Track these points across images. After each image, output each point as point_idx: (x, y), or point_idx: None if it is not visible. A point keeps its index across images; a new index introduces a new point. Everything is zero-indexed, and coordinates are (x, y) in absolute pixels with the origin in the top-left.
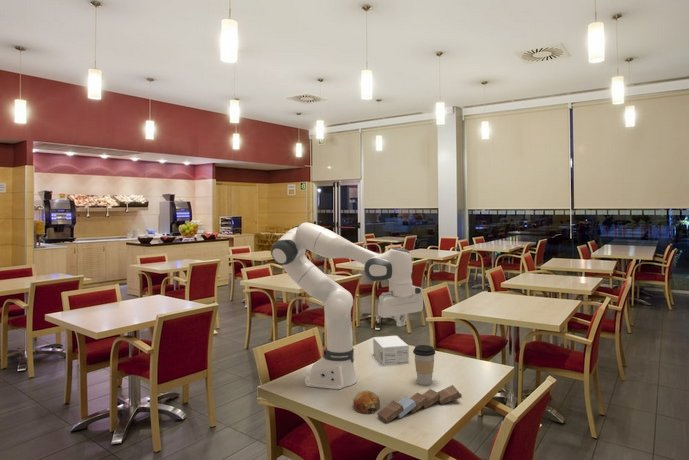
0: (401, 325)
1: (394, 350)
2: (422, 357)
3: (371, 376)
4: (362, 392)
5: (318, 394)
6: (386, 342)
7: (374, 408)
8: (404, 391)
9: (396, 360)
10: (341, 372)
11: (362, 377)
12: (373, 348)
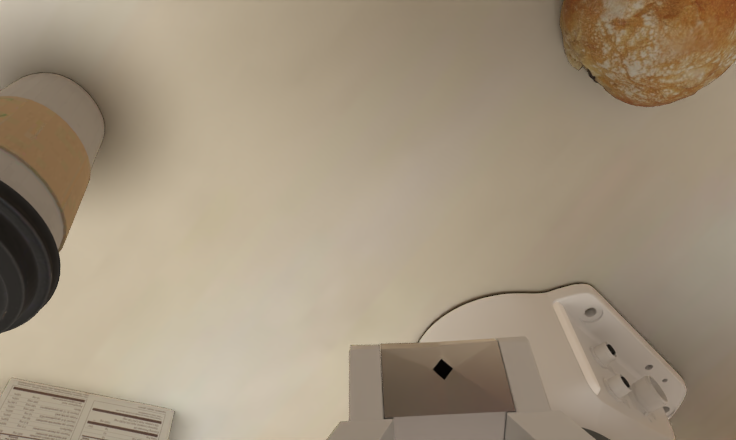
0: (466, 344)
1: None
2: (12, 186)
3: (318, 336)
4: (710, 49)
5: (713, 285)
6: None
7: None
8: (268, 73)
9: (83, 414)
10: (582, 360)
11: None
12: None
